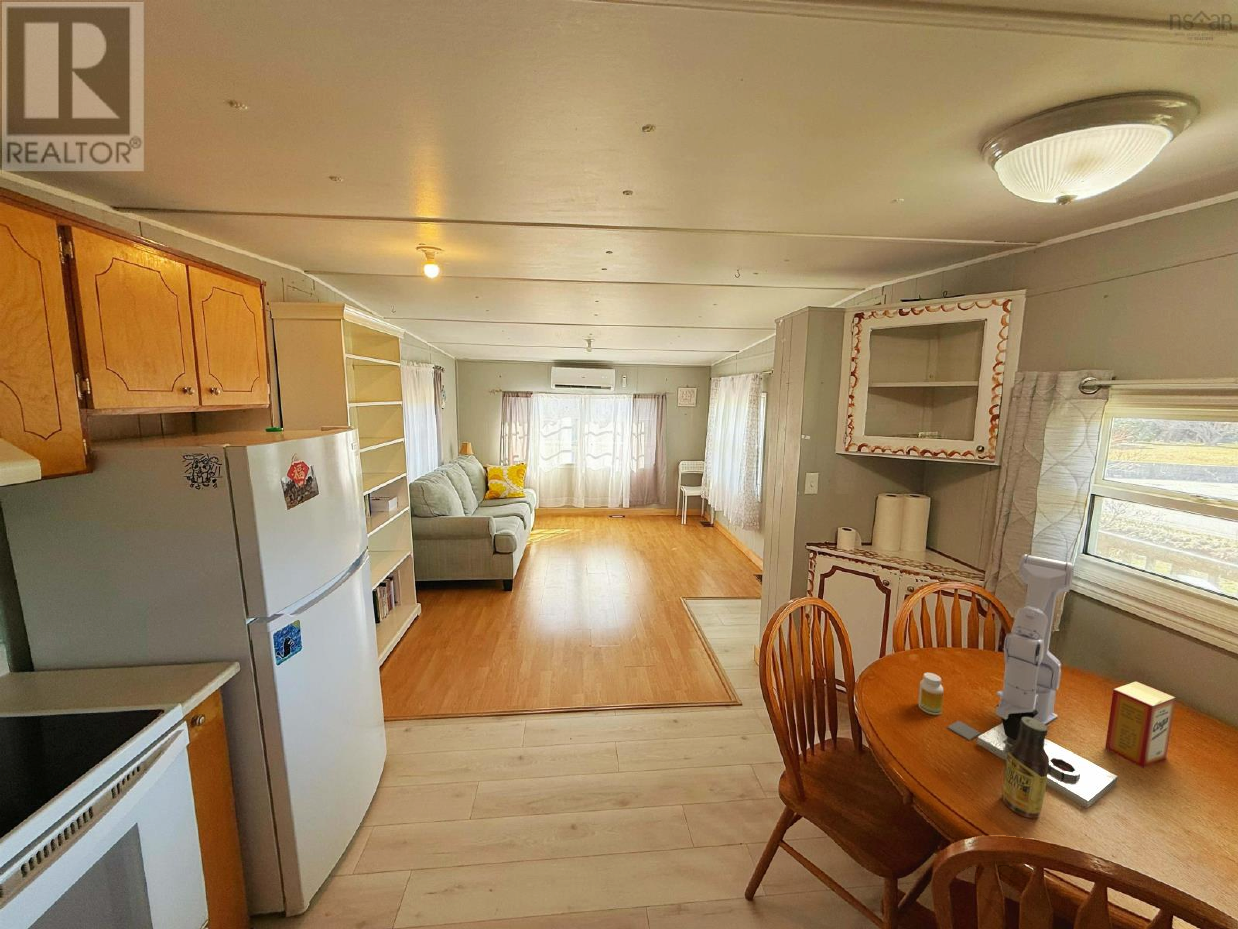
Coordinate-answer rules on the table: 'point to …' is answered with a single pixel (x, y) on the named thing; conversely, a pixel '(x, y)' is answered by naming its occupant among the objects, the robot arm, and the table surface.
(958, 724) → the pad
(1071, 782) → the panel
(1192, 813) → the table surface
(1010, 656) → the robot arm
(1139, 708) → the baking soda box
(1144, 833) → the table surface
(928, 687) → the supplement bottle
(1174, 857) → the table surface
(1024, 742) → the sauce bottle
